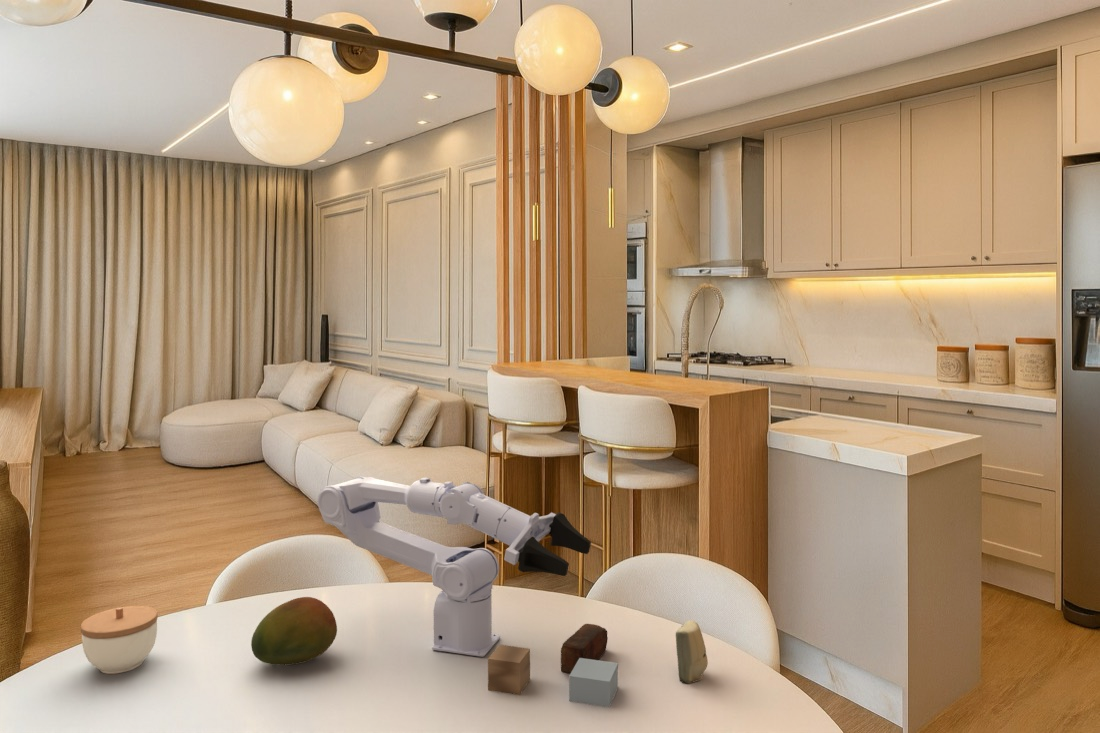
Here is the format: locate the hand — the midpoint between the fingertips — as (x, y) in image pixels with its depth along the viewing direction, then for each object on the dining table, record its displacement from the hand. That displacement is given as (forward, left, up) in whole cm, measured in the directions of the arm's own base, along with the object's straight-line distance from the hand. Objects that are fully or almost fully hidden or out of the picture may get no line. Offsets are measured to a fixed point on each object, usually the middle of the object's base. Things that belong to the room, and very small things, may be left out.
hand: (578, 558), depth 118 cm
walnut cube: (-9, -8, -18) cm, 22 cm away
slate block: (+4, -7, -18) cm, 20 cm away
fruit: (-45, -11, -18) cm, 50 cm away
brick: (0, +4, -18) cm, 19 cm away
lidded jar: (-71, -20, -18) cm, 76 cm away
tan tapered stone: (+17, +3, -18) cm, 25 cm away
